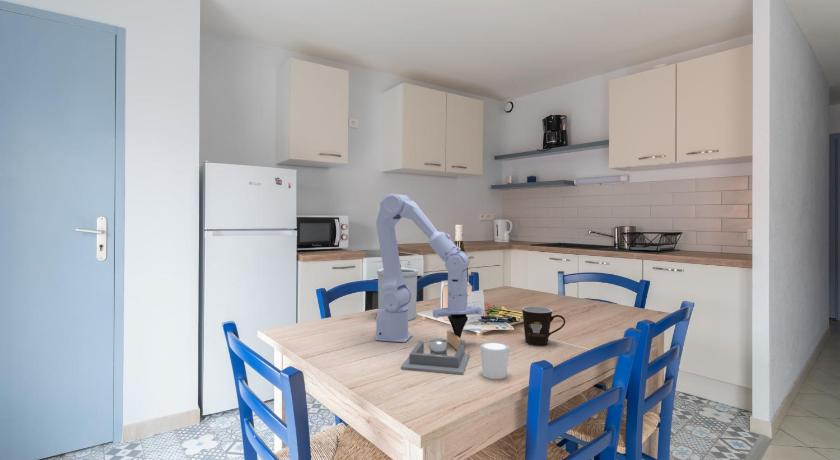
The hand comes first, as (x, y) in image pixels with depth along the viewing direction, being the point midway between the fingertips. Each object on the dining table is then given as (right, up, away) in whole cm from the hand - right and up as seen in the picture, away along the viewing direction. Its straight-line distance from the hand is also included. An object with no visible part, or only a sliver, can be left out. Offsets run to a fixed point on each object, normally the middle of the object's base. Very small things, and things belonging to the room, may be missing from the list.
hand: (457, 340), depth 127 cm
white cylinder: (+7, -3, -23) cm, 24 cm away
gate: (-1, -1, -3) cm, 3 cm away
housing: (-7, -2, -14) cm, 16 cm away
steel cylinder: (-6, -2, -12) cm, 14 cm away
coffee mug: (+25, -2, +2) cm, 25 cm away
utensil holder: (-19, 0, +34) cm, 39 cm away
